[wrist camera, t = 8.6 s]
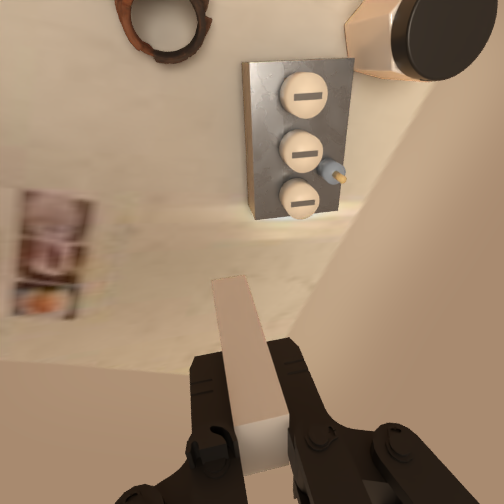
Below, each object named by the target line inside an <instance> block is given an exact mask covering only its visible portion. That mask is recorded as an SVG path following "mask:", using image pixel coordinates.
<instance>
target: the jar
mask: <svg viewBox="0 0 504 504" xmlns="http://www.w3.org/2000/svg"><path fill="white" fill-rule="evenodd" d="M497 5H498V0H365V1H364V2H363V3H362V4H361V5H360V7H359V8H358V9H357V10H356V11H355V13H354V14H353V15H352V16H351V17H350V19H349V20H348V21H347V22H346V23H345V26H344V27H345V35H346V44H347V52H348V58H355V62H354V71H356V72H360V73H363V74H367V75H370V76H374V77H377V78H381V79H393V80H406V81H419V82H432V81H441V80H445V79H449V78H451V77H453V76H456V75H457V74H459V73H460V72H462V71H463V70H464V69H466V68H467V67H468V66H469V65H470V64H471V63H472V62H473V61H474V60H475V59H476V58H477V57H478V55H479V54H480V53H481V51H482V50H483V48H484V47H485V45H486V43H487V41H488V39H489V37H490V35H491V32H492V30H493V27H494V24H495V19H496V15H497Z"/></svg>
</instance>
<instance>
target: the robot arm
mask: <svg viewBox="0 0 504 504" xmlns="http://www.w3.org/2000/svg"><path fill="white" fill-rule="evenodd" d="M211 282H212V289H213V295H214V301H215V308H216V314H217V321H218V327H219V334H220V340H221V347H222V351H221V352H216V353H211V354H206V355H201V356H196V357H194V360H193V362H192V365H191V367H190V392H191V419H192V434H191V436H190V438H189V440H188V441H187V446H186V451H185V454H186V457H187V460H186V461H185V463H184V464H183V465H182V467H181V468H180V469H179V470H178V471H176V472H175V473H174V474H172V475H171V476H170V477H168V478H166V479H165V480H163V481H162V482H160V483H159V484H157V485H155V486H150V485H147V484H143V485H138V486H134V487H132V488H131V489H129V490H128V491H126V492H124V494H123V495H122V496H121V497H120V498H119V499H118V500H117V501H116V502H115V504H248V501H247V495H246V489H245V483H244V477H243V476H247V475H251V474H255V473H258V472H263V471H267V470H271V469H274V468H278V467H282V466H286V465H289V461H290V464H291V468H292V472H293V475H294V476H293V493H294V499H296V498H297V499H298V503H299V504H479V503H478V502H477V500H476V499H475V498H474V497H473V496H472V495H471V494H470V493H469V492H468V491H467V489H465V487H464V486H463V485H462V484H461V483H460V482H459V481H458V480H457V478H456V477H455V476H454V475H453V474H452V473H451V472H450V471H449V470H448V469H447V467H446V466H445V465H444V464H443V463H442V462H441V461H440V460H439V459H438V458H437V457H436V455H434V453H433V452H432V451H431V450H430V449H429V448H428V447H427V446H426V445H425V444H424V442H423V441H422V440H421V439H420V438H419V437H418V436H417V435H416V434H415V433H414V432H412V431H411V430H410V429H408V428H407V427H405V426H403V425H400V424H397V423H386V424H383V425H380V426H379V428H377V429H376V430H375V432H374V431H365V430H356V429H350V428H347V427H344V426H342V425H340V424H339V423H337V422H336V421H334V420H333V419H332V418H331V417H330V416H329V414H328V413H327V411H326V409H325V408H324V405H323V403H322V400H321V398H320V396H319V393H318V391H317V388H316V386H315V384H314V381H313V379H312V377H311V374H310V372H309V371H308V367H307V365H306V363H305V361H304V358H303V356H302V353H301V351H300V349H299V346H297V345H296V344H295V343H294V342H293V341H292V340H291V339H290V338H289V337H288V338H283V339H278V340H273V341H268V342H266V339H265V336H264V333H263V330H262V326H261V323H260V320H259V317H258V314H257V311H256V307H255V304H254V301H253V298H252V295H251V292H250V288H249V285H248V282H247V279H246V276H245V275H240V276H234V277H227V278H221V279H215V280H211Z"/></svg>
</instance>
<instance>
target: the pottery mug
mask: <svg viewBox="0 0 504 504" xmlns="http://www.w3.org/2000/svg"><path fill="white" fill-rule="evenodd" d="M114 1H115V6H116V10H117V13H118V16H119V20H120V22H121V24H122V26H123V29H124V31H125V34H126V36H127V37H128V40H129V41H130V42H131V44H132V45H133V46H134V47H135V48H136V49H137V50H138V51H140V50H141V51H143V52H144V53H146V54H148V55H151V56H153V57H154V59H155V61H156V62H158V63H164V64H169V63H171V64H174V63H179V62H182V61H184V60H186V59H188V57H191V56H192V55H194V54H195V53H196V52H197V50H198V49H199V48H200V47H201V45H202V43H203V41H204V38H205V36H206V34H207V32H208V30H209V28H210V26H211V23H212V18H208V17H207V16H205V12H206V10H207V8H208V4H209V0H190V2H191V3H192V5H193V7H194V9H195V12H196V15H197V21H198V24H197V30H196V33H195V36H194V38H193V39H192V41H191V42H190V43H189V44H188V45H187V46H185V47H184V48H182V49H180V50H177V51H173V52H163V51H158V50H154V49H153V48H152V47H151V46H150V45H149V44H148V43H145V42H143V41H142V40H141V39H140V38H139V37H138V35H137V34H136V32H135V30H134V28H133V25H132V22H131V5H132V3H133V1H134V0H114Z"/></svg>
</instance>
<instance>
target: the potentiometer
mask: <svg viewBox="0 0 504 504" xmlns="http://www.w3.org/2000/svg"><path fill="white" fill-rule="evenodd" d="M345 173H346V171H345V168H344V166H343V165H341V164H340V163H338V162H336V161H335V160H333V159H331V158H326V159H324V160H322V161H321V162H320V164H319V165H318V174H319V175H320V176H321V177H322V178H323V179H324V180H326V181H327V182H328V183H329V184H332V185H335V184H338V183H345V182H346V177H345Z"/></svg>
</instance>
